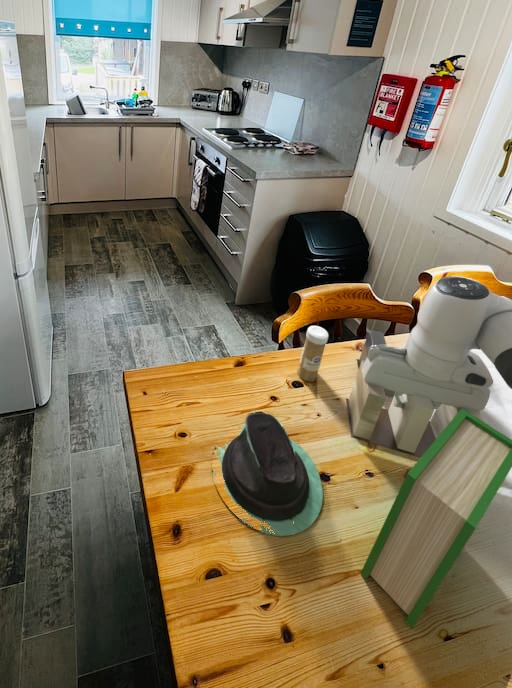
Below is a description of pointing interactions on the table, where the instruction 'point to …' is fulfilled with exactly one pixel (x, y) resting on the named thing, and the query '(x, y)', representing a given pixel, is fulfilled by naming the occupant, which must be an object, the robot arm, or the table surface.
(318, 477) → the black and teal hat
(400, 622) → the table surface
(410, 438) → the upright white block
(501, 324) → the robot arm
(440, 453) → the hardback book
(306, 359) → the sprinkles bottle
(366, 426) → the light brown wooden rack
